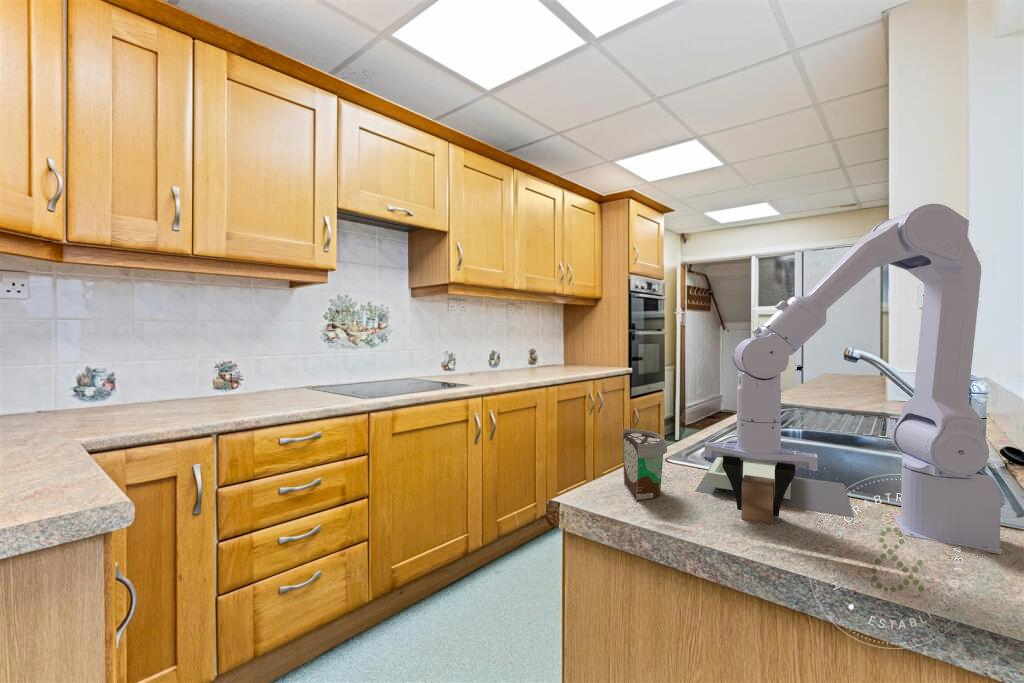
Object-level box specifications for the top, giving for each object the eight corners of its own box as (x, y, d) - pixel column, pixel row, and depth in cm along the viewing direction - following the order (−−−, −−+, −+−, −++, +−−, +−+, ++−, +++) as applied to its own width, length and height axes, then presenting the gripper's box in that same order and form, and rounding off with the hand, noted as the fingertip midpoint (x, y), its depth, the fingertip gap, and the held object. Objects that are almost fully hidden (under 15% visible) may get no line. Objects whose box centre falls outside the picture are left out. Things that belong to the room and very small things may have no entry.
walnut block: (774, 518, 69) (774, 478, 69) (772, 528, 65) (773, 486, 65) (744, 513, 71) (744, 474, 71) (741, 522, 68) (741, 482, 67)
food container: (678, 507, 73) (677, 445, 73) (639, 507, 74) (638, 445, 73) (655, 481, 86) (655, 428, 86) (622, 481, 86) (622, 428, 86)
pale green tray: (791, 476, 86) (791, 457, 86) (790, 506, 72) (790, 484, 72) (721, 466, 93) (721, 449, 93) (707, 492, 78) (707, 472, 78)
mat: (843, 486, 82) (844, 483, 82) (853, 520, 68) (853, 517, 68) (710, 467, 94) (710, 465, 94) (695, 493, 79) (695, 491, 79)
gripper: (816, 419, 67) (815, 511, 68) (709, 410, 75) (709, 493, 75) (818, 428, 61) (817, 529, 62) (702, 418, 69) (702, 508, 69)
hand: (758, 510), depth 68 cm, fingers closed on walnut block, 4 cm apart
